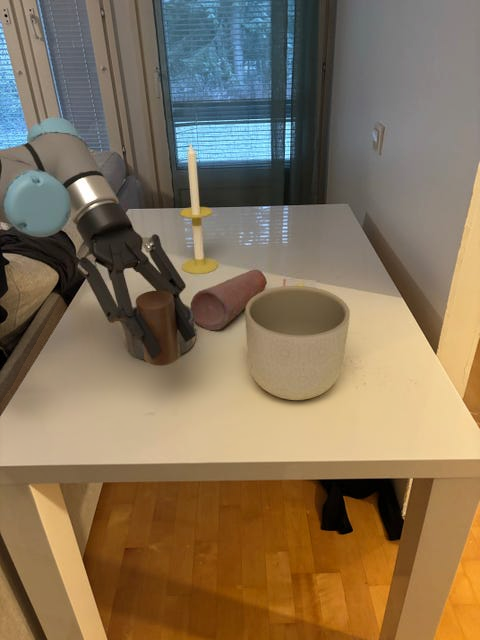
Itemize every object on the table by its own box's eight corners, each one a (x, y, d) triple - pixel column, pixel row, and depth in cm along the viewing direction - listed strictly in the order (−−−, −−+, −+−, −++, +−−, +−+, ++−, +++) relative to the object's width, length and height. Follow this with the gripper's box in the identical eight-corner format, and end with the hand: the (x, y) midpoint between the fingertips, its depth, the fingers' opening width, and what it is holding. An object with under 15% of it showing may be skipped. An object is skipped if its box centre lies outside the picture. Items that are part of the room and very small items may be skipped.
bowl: (153, 372, 88) (149, 345, 85) (113, 343, 97) (108, 318, 93) (209, 341, 96) (207, 316, 93) (168, 317, 105) (165, 294, 102)
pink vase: (227, 335, 98) (226, 298, 93) (190, 325, 102) (186, 289, 97) (270, 292, 114) (271, 259, 109) (237, 285, 118) (235, 252, 113)
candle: (204, 255, 134) (195, 136, 118) (225, 266, 128) (219, 141, 111) (174, 265, 129) (161, 142, 112) (195, 277, 122) (184, 148, 105)
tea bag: (283, 315, 105) (284, 274, 99) (313, 317, 103) (316, 276, 98) (281, 323, 101) (282, 282, 96) (312, 326, 100) (315, 284, 95)
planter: (259, 349, 93) (258, 280, 85) (345, 361, 89) (353, 290, 81) (235, 404, 79) (232, 329, 72) (336, 421, 75) (345, 343, 67)
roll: (158, 370, 69) (149, 312, 64) (137, 355, 73) (128, 299, 68) (187, 354, 73) (181, 298, 67) (165, 341, 76) (158, 286, 71)
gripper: (141, 213, 79) (211, 331, 77) (35, 243, 68) (113, 381, 66) (156, 187, 73) (231, 314, 71) (42, 216, 62) (128, 367, 60)
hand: (174, 346), depth 69 cm, fingers closed on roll, 5 cm apart
